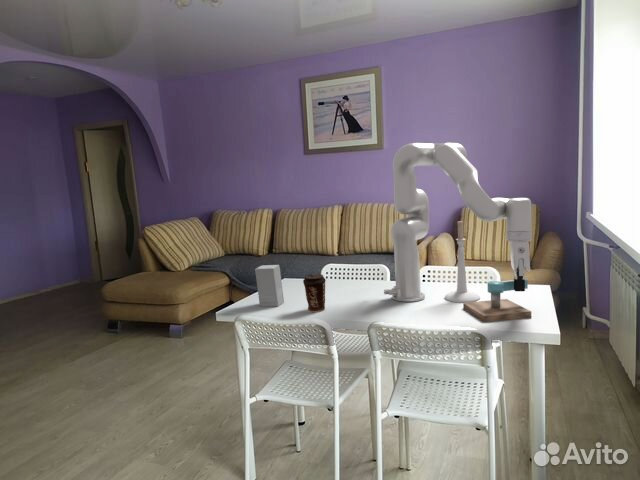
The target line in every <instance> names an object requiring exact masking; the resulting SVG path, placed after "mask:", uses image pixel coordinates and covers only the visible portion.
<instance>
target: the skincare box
mask: <svg viewBox="0 0 640 480" xmlns="http://www.w3.org/2000/svg"><path fill="white" fill-rule="evenodd" d="M280 266H281V265H280V264H269V265H266V264H265V265H260V266H257V267H256V268H255V269H254V274H255V278H256V286H257V287H256V288H257V294H258V301H259V307H279V306H281V305H282V304H283V303H284V302H285V298H284V291H283V290H284V289H283V283H282V275H281V268H280Z"/></svg>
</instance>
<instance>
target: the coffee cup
mask: <svg viewBox="0 0 640 480" xmlns="http://www.w3.org/2000/svg"><path fill="white" fill-rule="evenodd" d="M326 281H327V280H326V278H325V277H324V274H321V273H320V274H319V273H315V274H307V275H306V276H304V278H303V282H302V283H303V286H304V291H305V298H306V301H307V310H308V312H310V313H321V312H323V311H325V308H326V307H325V306H326Z"/></svg>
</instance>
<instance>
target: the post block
mask: <svg viewBox="0 0 640 480" xmlns="http://www.w3.org/2000/svg"><path fill="white" fill-rule="evenodd" d="M462 304H463V306H462V307H463V310H466V312H468V313H470V314H471V315H473V316H474V317H476V318H477V319H479V320H480V321H482V322H484V323H487V322H496V321H497V322H499V321H507V320H508V321H509V320H517V319H518V320H519V319H529V318H530V319H531V318H532V311H531V310H529V308H525V307H523V306H522V305H519V304H517V303H515V302H514V301H511V300H510V299H508V298H505V299H503V298H502V299H501V293H498V294H495V293H490V300H482V301H481V300H478V301H475V302H468V303H462Z"/></svg>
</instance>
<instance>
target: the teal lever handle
mask: <svg viewBox="0 0 640 480" xmlns="http://www.w3.org/2000/svg"><path fill="white" fill-rule="evenodd" d="M524 279H525V278H524ZM528 281H529V280H528V279H525V290H528V287H529V286H528V285H529V284H528V283H529V282H528ZM508 291H509V292H511V291H515V290H514V279H513V280H512V279H510V280H504V281H495V280H493V281H488V282H487V293H489V294H491V293H495V294H498V293H500V294H503V293H504V292H508Z"/></svg>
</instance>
